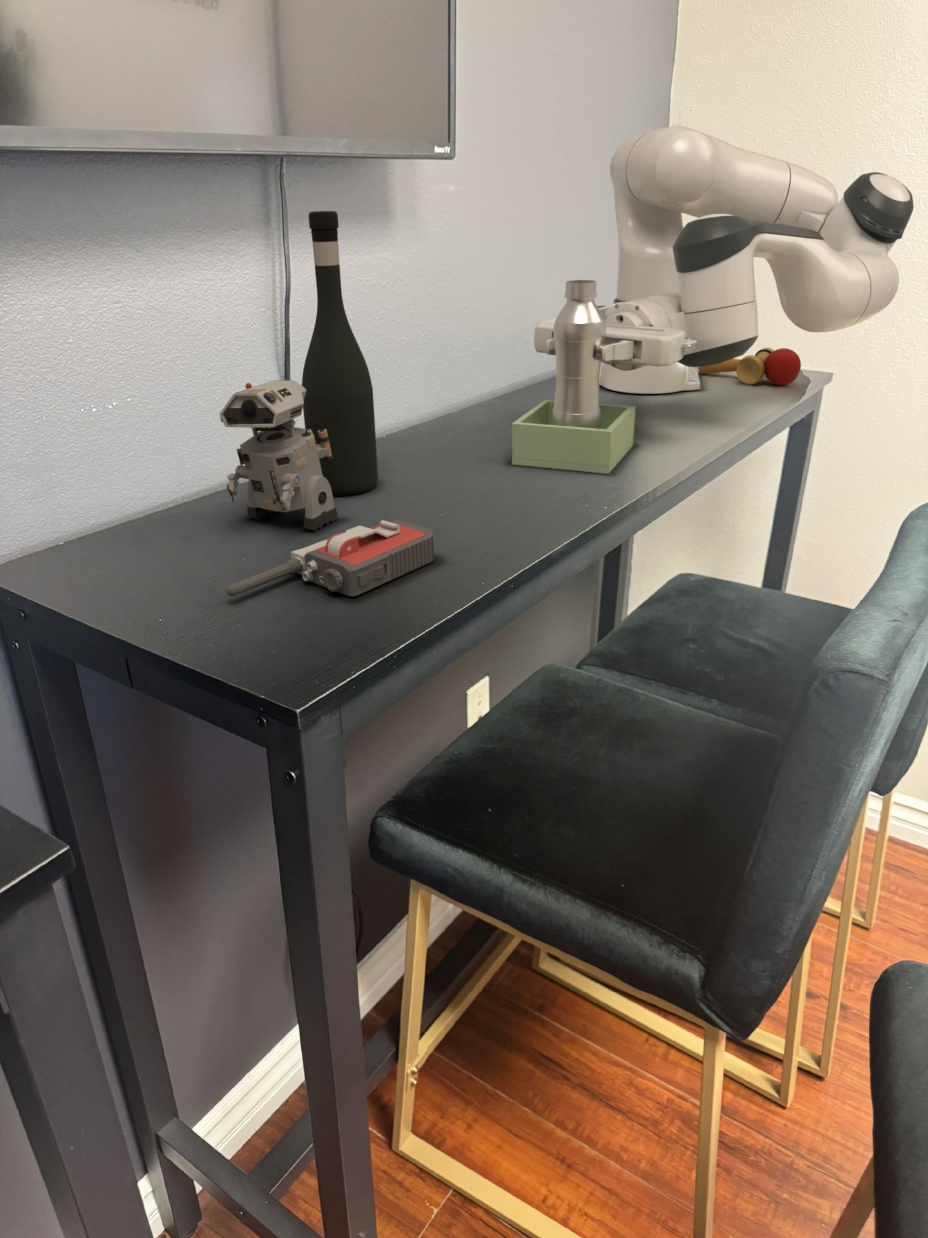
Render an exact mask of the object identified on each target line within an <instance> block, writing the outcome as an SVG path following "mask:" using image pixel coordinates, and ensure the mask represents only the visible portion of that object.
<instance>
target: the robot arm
mask: <svg viewBox="0 0 928 1238" xmlns="http://www.w3.org/2000/svg"><path fill="white" fill-rule="evenodd" d="M609 179H610V182H611V185H612V188H613V195H614V210H615V220H616V221H615V222H616V229H617V239H618V260H617V261H618V263H617V281H616V285H617V286H616V298H614V299H613V303H612V304H609V305H605V304H604V305H597V307H598V308H599V310H600V311H601V313H602V315H603V317H604V318H605V322H606V326H607V328H606V335H605V340H604V344H601V345H598V346H597V347H596V351H595V352H596V355H595V359H596V360H598V361H601V365H600V371H599V374H600V375H599V386H601V387H603V388H605V389H608V390H610V391H614V392H615V391H616V392H620V393H627V394H641V395H642V394H643V395H645V394H646V395H647V394H648V395H649V394H651V395H653V394H654V395H655V394H670V393H677V392H683V391H696V390H701V380H700V376H699V369H698V368H699V367H703V366H710V365H714V364H718V363H722V362H725V361H728V360H731V359H737V358H738V357H742V356H743V355H744V354H746V353H747V352H748V351H749V349H751V348H752V347H753V345H754V344H755V343H756V341H757V340H758V338H759V318H758V303H757V295H756V294H757V293H756V281H755V267H754V258H760V259H764V260H765V261H766V262H767V263H768V266H769V267H770V270H771V272H772V275H773V278H774V281H775V285H776V289H777V294H778V298H779V302H780V305H781V308H782V310H783V313H784V314H785V316H786V317H787V318H788V320H789V321H790V323H792V324H794V325H795V327H797V328H799V329H801V330H803V331H806V332H810V333H828V332H829V333H830V332H835V331H839V330H843V329H846V328H849V327H852V326H856V325H858V324H861V323H863V322H865V321H867V320H869V319H870V318H872V317H874V316H876V315H877V314H879V313H880V312H882V311H883V310H885V309H886V308H887V307H888V306H889V305H890V304H891V303H892V301H893V300H894V298H895V297H896V294H897V292H898V288H899V283H900V280H899V278H900V276H899V272H898V268H897V266H896V264H895V262H894V261H893V260H892V259H891V257H890V256H889V255H888V253H889V252H890V250H891V249H892V248H893V246H894V245H895V243H896V242H897V241H898V240H901V239H902V238H903V235H904V233H905V230H906V228H907V226H908V223H909V221H910V219H911V218H912V217H911V216H912V214H913V211H914V207H915V205H914V198H913V194H912V192H911V190H910V189H909V188H908V187H907V186H906V185H905V184H903V183H902V181H900V180H899V179H897V178H895V177H893V176H891V175H889V174H885V173H883V172H877V171H873V172H866V173H863V174H861V175H860V176H858V177H857V178H856V179H855V180H854V181H853V182H852V183H851V184H849V186H848V187H847V189H845V191H844V192H843V196H842V198H841V199H840V200H839V199H838V198H839V197H838V193H837V189H836V187H835V185H834V184H833V183H832V182H831V181H829V180H828V179H827V178H825V177H823V176H822V175H819V174H818V173H816V172H814V171H812V170H810V169H807V168H805V167H803V166H800V165H798V164H795V163H792V162H789V161H786V160H782V159H779V158H775V157H772V156H768V155H765V154H762V153H758V152H755V151H751V150H748V149H744V148H741V147H738V146H735V145H733V144H731V143H729V142H728V141H725V140H723V139H720V138H717V137H715V136H712V135H710V134H707V133H704V132H702V131H699V130H696V129H693V128H690V127H687V126H682V125H673V126H665V127H657V128H649V129H643V130H639V131H637V132H634V133H632V134H631V135H630V136H628V137H627V138H625V140H623V141H622V142H621V144H620V145H618V147H617V148H616V149H615V151H614V153H613V155H612V157H611V159H610V163H609ZM838 200H839V201H838ZM683 214H684V215H687V216H691V217H695V219H694V220H692V221H688V222H687V223H686V224H685V225H684V223H683ZM557 317H558V315H557V316H554V317H551V318H548V319H545V320H542V321H540V322H538V323H537V324H536V325H535V327H534V333H533V345H534V349H535V351H536V353H540V354H546V355H549V356H556V353H555V344H554V335H553V327H554V324H555V320H556V318H557Z"/></svg>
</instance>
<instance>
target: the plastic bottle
mask: <svg viewBox="0 0 928 1238" xmlns="http://www.w3.org/2000/svg"><path fill="white" fill-rule="evenodd" d="M564 287H565V291H564V292H565V293H564V295H563V297H564V299H566V303H565V304H564V305H563V308H561V310H560V311H559V313H558V315H557V316H558V317H557V316H556V317H557V318H556V320H555V324H554V327H553V335H554V344H555V353H556V355H555V370H556V374H555V376H556V377H555V380H556V382H555V383H556V384H555V390H554V399H553V400H554V408H553V410H552V415H551V421H550V425H558V426H570V427H583V428H595V429H601V426H602V420H601V411H600V408H599V404H600V385H599V375H600V374H599V373H600V365H601V361H598V360H596V359H595V355H596V352H595V351H596V347H597V346H598V345H601V344H604V340H605V335H606V328H607V326H606V322H605V318H604V317H603V315H602V313H601V311H600V310H599V308H598V307H597V306H598V305H597V304H596V302H595V299H596V298H597V297H598V292H597V281H596V280H593V279H575V280H574V279H573V280H566V281H565V285H564Z"/></svg>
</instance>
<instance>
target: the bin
mask: <svg viewBox="0 0 928 1238" xmlns="http://www.w3.org/2000/svg"><path fill="white" fill-rule="evenodd" d="M553 408H554V399H544V400H543V401H541V402H540V403H538V404H537V405H536V406H534V407H533V408H531V409H529V411H527V412H526V413H524V414H523V415H521V416H520V417H519V418H518V419H516V420H515V421H513V422H512V423H511V465H513V466H523V467H534V468H543V469H553V470H554V469H555V470H565V471H573V472H574V471H575V472H585V473H593V474H594V473H595V474H596V473H597V474H604V475H609V474H610V473H611V472H612V471H613V469H615V467H617V465H618V464H619V463H620V462H621V460H622V459H623V458H624V457H625V456H626V454H627V453H628V452H629V451H630V450H631V449H632V448H633V446H634V437H635V422H636V406H635V405H623V404H607V403H599V408H600V411H601V420H602V426H601V429H595V428H583V427H570V426H558V425H550V421H551V415H552V410H553Z"/></svg>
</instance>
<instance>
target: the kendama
mask: <svg viewBox="0 0 928 1238" xmlns="http://www.w3.org/2000/svg"><path fill="white" fill-rule="evenodd" d="M801 368H802V362H801V357H800V356H799V354H798V353H797V352H796V351H794V350H792V349H789V348H787V347H785V348H783V347H782V348H778V349H777V348H776V349H775V350H774V349H773V348H770V347H763V348H760V349H759V350H758V351H756V353H755V354H754V355H753V354H752V355H751V354H750V355H746V356H744V357H743V358H741V359H739V358H733V359H731V360H728V361H725V362H722V363H718V364H714V365H710V366H703V367H698V372H699V373H700V375H707V374H708V375H710V374H721V373H732V372H733V373H734V372H736V375H737V377H738V379H739V380H740V381H741V382H742V383H744V384H746V385H755V384H757V383H758V382H761V381H762V380H763V378H764V377H765V378H766V379H767V380H768V382H770V383H772V384H773V385H777V386H784V385H789V384H792V383H793V382H794V381H795V380H796V379H797V378H798V376H799V374H800V372H801Z"/></svg>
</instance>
